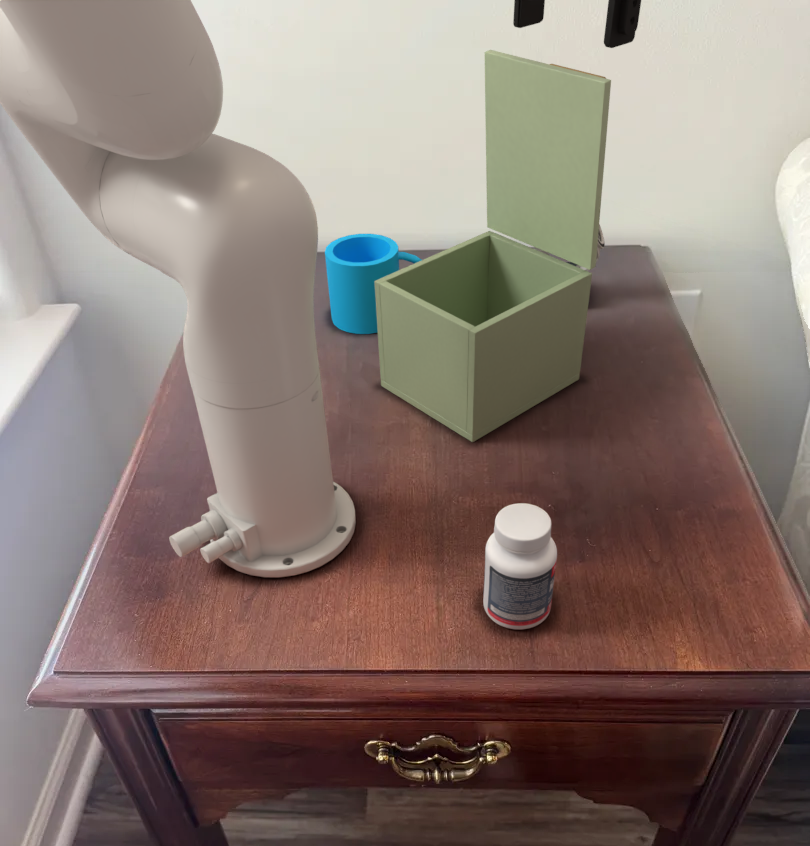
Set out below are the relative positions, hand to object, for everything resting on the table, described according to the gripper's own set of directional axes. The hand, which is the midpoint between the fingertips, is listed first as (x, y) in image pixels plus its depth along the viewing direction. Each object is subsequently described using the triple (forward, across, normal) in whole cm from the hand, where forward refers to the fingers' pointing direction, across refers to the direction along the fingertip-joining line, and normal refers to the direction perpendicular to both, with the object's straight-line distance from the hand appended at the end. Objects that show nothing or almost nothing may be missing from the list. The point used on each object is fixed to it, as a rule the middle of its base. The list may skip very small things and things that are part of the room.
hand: (571, 34), depth 71 cm
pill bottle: (+31, +23, -28) cm, 48 cm away
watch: (+31, -7, +12) cm, 34 cm away
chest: (+31, -1, -8) cm, 32 cm away
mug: (+31, -19, -6) cm, 37 cm away
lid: (+10, -1, -2) cm, 11 cm away
